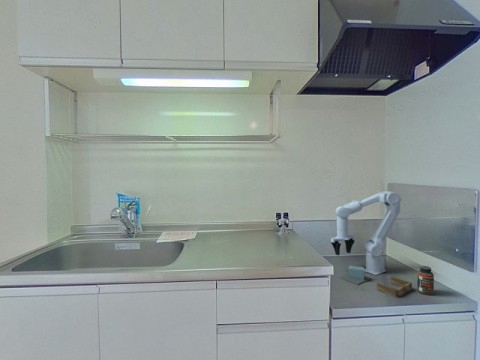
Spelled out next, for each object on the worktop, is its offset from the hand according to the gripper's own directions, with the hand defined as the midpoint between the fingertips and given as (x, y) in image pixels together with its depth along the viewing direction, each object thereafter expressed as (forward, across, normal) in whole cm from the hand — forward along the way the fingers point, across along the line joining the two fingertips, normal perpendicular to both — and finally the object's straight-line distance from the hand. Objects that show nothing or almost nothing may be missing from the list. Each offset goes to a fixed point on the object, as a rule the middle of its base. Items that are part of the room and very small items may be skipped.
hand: (342, 253), depth 145 cm
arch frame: (+9, +4, -27) cm, 29 cm away
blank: (+9, -2, -11) cm, 14 cm away
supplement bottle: (+10, +13, -35) cm, 39 cm away
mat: (+9, -2, -10) cm, 14 cm away
